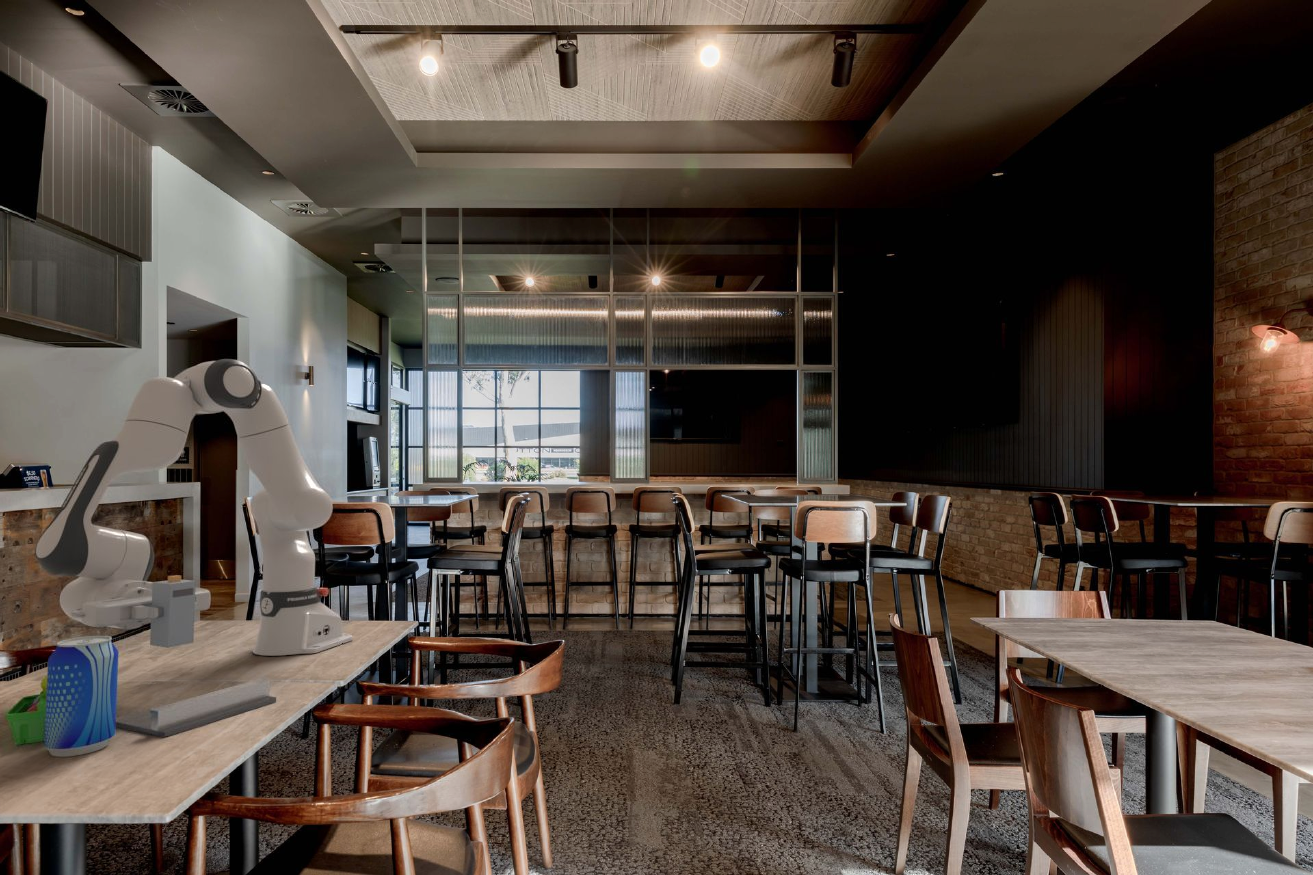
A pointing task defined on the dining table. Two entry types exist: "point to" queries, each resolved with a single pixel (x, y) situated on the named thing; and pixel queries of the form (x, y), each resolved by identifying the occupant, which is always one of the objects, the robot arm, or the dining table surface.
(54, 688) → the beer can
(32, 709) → the fruit basket
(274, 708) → the dining table surface
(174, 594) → the module
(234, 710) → the rail plate
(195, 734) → the dining table surface
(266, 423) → the robot arm
